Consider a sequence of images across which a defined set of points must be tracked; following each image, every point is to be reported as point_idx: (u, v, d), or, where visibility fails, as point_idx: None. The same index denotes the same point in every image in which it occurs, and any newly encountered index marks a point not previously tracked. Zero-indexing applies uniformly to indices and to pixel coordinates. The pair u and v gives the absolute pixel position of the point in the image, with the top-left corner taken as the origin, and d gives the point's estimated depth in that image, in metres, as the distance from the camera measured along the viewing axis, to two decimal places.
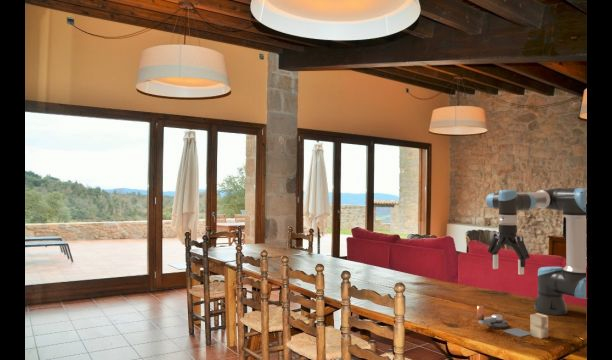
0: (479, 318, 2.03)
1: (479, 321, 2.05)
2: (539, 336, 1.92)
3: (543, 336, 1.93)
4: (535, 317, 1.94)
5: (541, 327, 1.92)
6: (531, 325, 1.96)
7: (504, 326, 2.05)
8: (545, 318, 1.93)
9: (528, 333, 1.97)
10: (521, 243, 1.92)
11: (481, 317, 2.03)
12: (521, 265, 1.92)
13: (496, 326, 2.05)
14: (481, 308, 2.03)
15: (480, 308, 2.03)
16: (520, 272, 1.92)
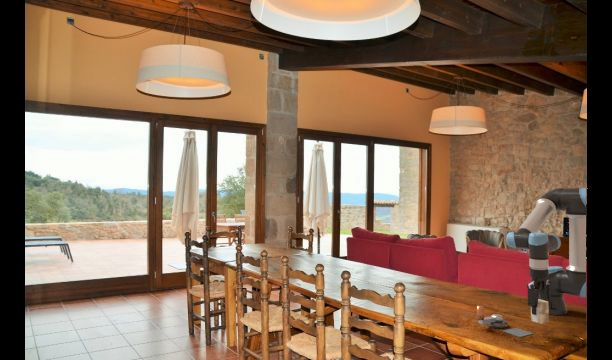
0: (479, 318, 2.03)
1: (479, 321, 2.05)
2: (540, 322, 1.93)
3: (544, 321, 1.93)
4: None
5: (542, 313, 1.92)
6: (531, 311, 1.96)
7: (504, 326, 2.05)
8: (545, 303, 1.94)
9: (528, 333, 1.97)
10: (529, 291, 1.93)
11: (481, 317, 2.03)
12: None
13: (496, 326, 2.05)
14: (481, 308, 2.03)
15: (480, 308, 2.03)
16: (533, 319, 1.95)
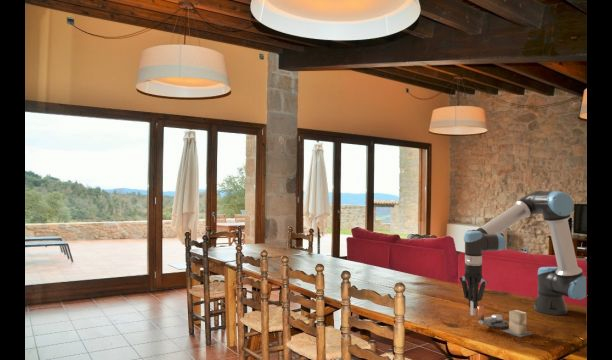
0: (479, 318, 2.03)
1: (479, 321, 2.04)
2: (517, 332, 1.96)
3: (521, 332, 1.97)
4: (513, 314, 1.98)
5: (519, 324, 1.96)
6: (510, 321, 2.00)
7: (504, 326, 2.05)
8: (523, 315, 1.97)
9: (528, 333, 1.97)
10: (483, 287, 2.03)
11: (481, 317, 2.02)
12: (474, 306, 2.05)
13: (496, 326, 2.05)
14: (481, 308, 2.02)
15: (480, 308, 2.03)
16: (473, 313, 2.06)
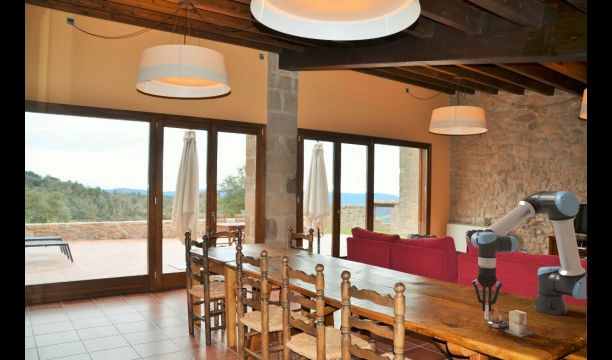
0: (496, 322, 1.98)
1: (494, 325, 1.99)
2: (517, 332, 1.96)
3: (521, 332, 1.97)
4: (513, 314, 1.98)
5: (519, 324, 1.96)
6: (510, 321, 2.00)
7: (504, 326, 2.05)
8: (523, 315, 1.97)
9: (528, 333, 1.97)
10: (499, 289, 1.99)
11: (498, 320, 1.98)
12: (489, 310, 1.99)
13: None
14: (498, 311, 1.98)
15: (497, 311, 1.98)
16: None
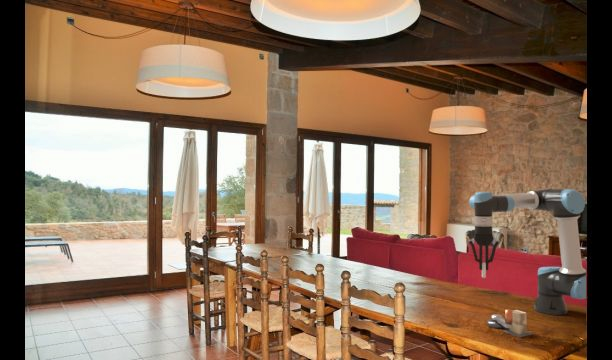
0: (511, 322, 1.97)
1: (507, 326, 1.98)
2: (517, 332, 1.96)
3: (521, 332, 1.97)
4: (513, 314, 1.98)
5: (519, 324, 1.96)
6: None
7: None
8: (523, 315, 1.97)
9: (528, 333, 1.97)
10: (495, 248, 2.01)
11: (512, 321, 1.97)
12: (486, 268, 2.01)
13: (496, 326, 2.05)
14: None
15: None
16: (485, 275, 2.01)
